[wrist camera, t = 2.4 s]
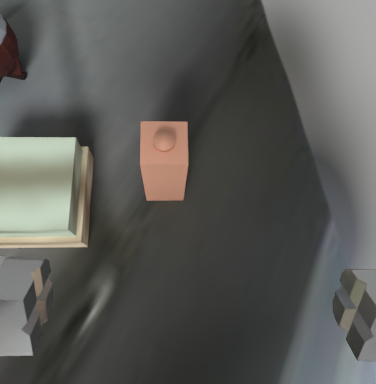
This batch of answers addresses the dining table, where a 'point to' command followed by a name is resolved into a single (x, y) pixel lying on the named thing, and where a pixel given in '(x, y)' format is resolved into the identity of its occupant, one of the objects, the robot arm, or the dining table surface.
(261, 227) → the dining table surface
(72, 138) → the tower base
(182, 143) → the brick
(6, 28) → the mate gourd
